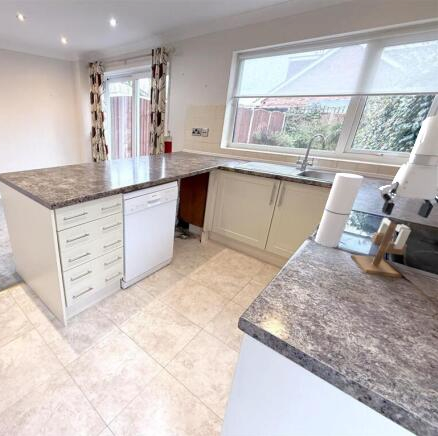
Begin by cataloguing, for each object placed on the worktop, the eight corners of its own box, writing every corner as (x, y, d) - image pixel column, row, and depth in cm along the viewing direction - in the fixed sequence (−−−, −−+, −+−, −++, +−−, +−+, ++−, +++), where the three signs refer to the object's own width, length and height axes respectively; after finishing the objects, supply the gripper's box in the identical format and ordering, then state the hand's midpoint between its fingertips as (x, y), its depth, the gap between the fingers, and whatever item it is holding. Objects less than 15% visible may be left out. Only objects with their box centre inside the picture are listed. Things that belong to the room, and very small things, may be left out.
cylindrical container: (310, 240, 91) (331, 174, 82) (322, 236, 94) (343, 172, 85) (331, 249, 85) (356, 178, 76) (342, 244, 88) (368, 176, 79)
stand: (382, 261, 79) (403, 215, 72) (401, 278, 71) (427, 227, 64) (350, 257, 81) (368, 212, 74) (365, 273, 73) (387, 223, 66)
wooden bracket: (383, 245, 88) (395, 217, 84) (402, 260, 80) (417, 229, 75) (367, 244, 90) (379, 216, 85) (384, 258, 81) (398, 228, 76)
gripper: (452, 160, 74) (427, 213, 80) (383, 158, 78) (365, 209, 84) (476, 164, 67) (447, 222, 73) (400, 161, 71) (379, 216, 77)
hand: (403, 215), depth 79 cm, fingers open, 9 cm apart
